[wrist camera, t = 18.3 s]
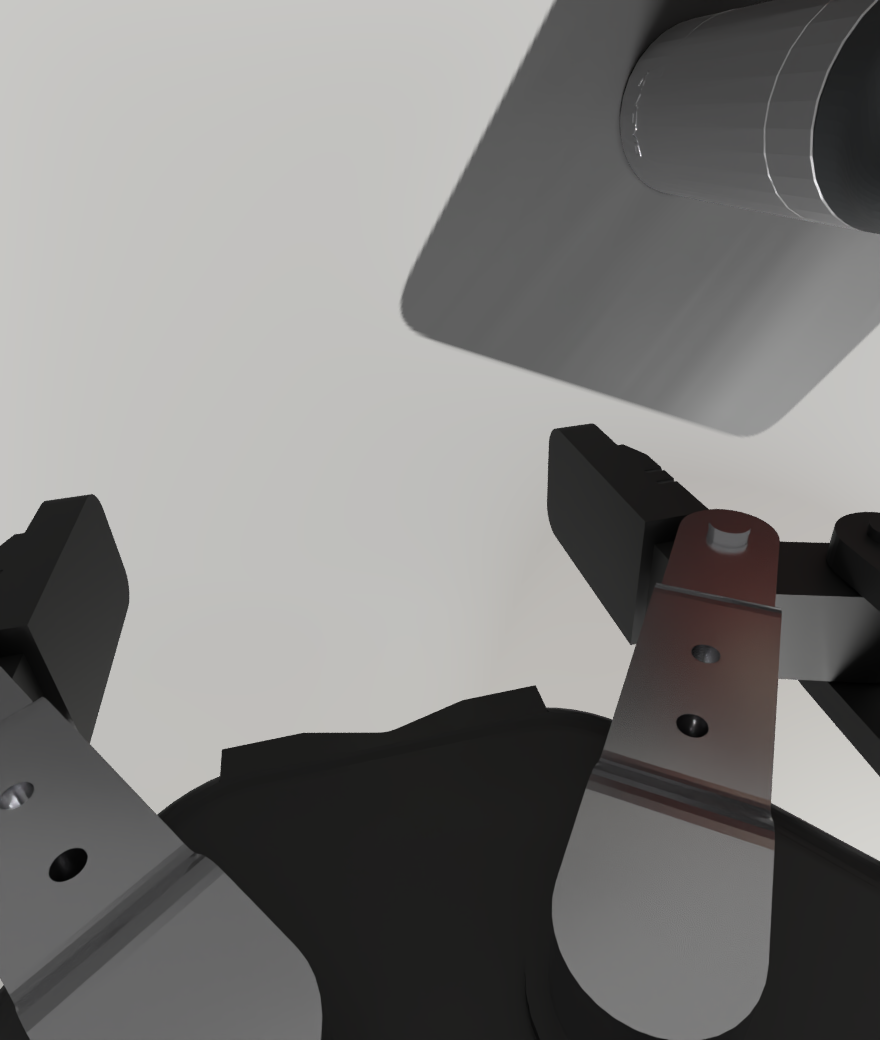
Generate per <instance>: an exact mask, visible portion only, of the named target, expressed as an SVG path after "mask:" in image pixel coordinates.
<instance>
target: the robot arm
mask: <svg viewBox="0 0 880 1040" xmlns="http://www.w3.org/2000/svg"><path fill="white" fill-rule="evenodd" d="M620 135H621V140H622V145H623V150H624V153H625V156H626V158H627V160H628V163H629V165H630V167H631V168H632V170H633V171H634V173H635V174H636V175H637V177H638V178H639V179H640V180H641V181H642V182H644V183H645V184H646V185H647V186H648V187H650V188H652V189H654V190H657V191H659V192H661V193H665V194H670V195H676V196H681V197H686V198H691V199H695V200H699V201H705V202H710V203H715V204H720V205H726V206H731V207H736V208H741V209H747V210H752V211H757V212H762V213H768V214H773V215H778V216H783V217H789V218H794V219H799V220H804V221H810V222H815V223H822V224H828V225H833V226H838V227H843V228H849V229H854V230H859V231H864V232H871V233H877V234H880V0H773V1H768V2H764V3H760V4H755V5H751V6H747V7H742V8H738V9H732V10H728V11H724V12H720V13H715V14H711V15H707V16H702V17H698V18H694V19H691V20H688V21H684V22H681V23H678V24H677V25H675V26H673V27H672V28H670V29H668V30H667V31H665V32H664V33H662V34H661V35H660V36H659V37H658V38H657V39H656V40H655V41H654V42H653V43H652V44H650V46H649V47H648V48H647V50H646V51H645V52H644V54H643V55H642V56H641V58H640V59H639V60H638V62H637V64H636V66H635V68H634V70H633V72H632V74H631V76H630V78H629V80H628V83H627V86H626V89H625V93H624V96H623V101H622V107H621V113H620ZM548 460H549V461H548V493H547V510H548V517H549V521H550V525H551V528H552V531H553V533H554V535H555V536H556V538H557V539H558V541H559V542H560V544H561V545H562V546H563V548H564V549H565V551H566V552H567V553H568V555H569V557H570V558H571V559H572V561H573V562H574V564H575V565H576V567H577V568H578V570H579V571H580V572H581V574H582V575H583V577H584V578H585V580H586V581H587V583H588V584H589V585H590V587H591V588H592V590H593V591H594V593H595V594H596V595H597V597H598V598H599V600H600V601H601V603H602V604H603V606H604V607H605V609H606V610H607V611H608V613H609V614H610V616H611V617H612V619H613V620H614V622H615V623H616V624H617V626H618V627H619V629H620V630H621V632H622V633H623V635H624V636H625V637H626V639H627V640H628V642H629V643H630V645H632V644H636V647H635V650H634V654H633V657H632V660H631V663H630V666H629V669H628V672H627V676H626V679H625V682H624V685H623V689H622V691H621V695H620V698H619V701H618V704H617V708H616V710H615V714H614V717H613V720H611V719H609V718H606V717H603V716H599V715H596V714H592V713H588V712H583V711H578V710H572V709H563V708H546V707H545V704H544V702H543V701H542V698H541V696H540V694H539V692H538V690H537V688H536V686H530V687H525V688H520V689H516V690H510V691H506V692H501V693H496V694H491V695H486V696H482V697H477V698H472V699H467V700H462V701H460V702H458V703H455V704H453V705H451V706H448V707H446V708H444V709H441V710H439V711H437V712H434V713H432V714H430V715H428V716H425V717H423V718H421V719H418V720H416V721H414V722H411V723H409V724H407V725H405V726H402V727H400V728H398V729H395V730H392V731H389V732H383V733H301V734H296V735H291V736H286V737H281V738H276V739H271V740H266V741H262V742H257V743H252V744H247V745H242V746H237V747H232V748H228V749H223V750H222V758H221V772H220V776H219V777H217V778H215V779H213V780H210V781H208V782H206V783H204V784H203V785H201V786H199V787H197V788H196V789H193V790H192V791H190V792H188V793H187V794H185V795H184V796H182V797H181V798H179V799H177V800H176V801H174V802H173V803H172V804H170V805H169V806H168V807H166V808H165V809H164V810H163V811H161V812H160V813H159V814H158V815H156V813H155V812H154V811H153V810H152V809H151V808H150V807H149V806H148V805H147V804H146V803H145V802H144V801H143V800H142V799H141V798H140V797H139V795H138V794H137V793H136V792H135V791H134V790H133V789H132V788H131V787H130V786H129V785H128V784H127V783H126V782H125V781H124V780H123V779H122V778H121V777H120V776H119V774H118V773H117V772H116V771H114V769H113V768H112V767H111V766H110V765H109V764H108V763H107V762H106V761H105V760H104V759H103V758H102V757H101V755H99V753H97V751H96V750H95V749H94V748H93V747H92V746H91V745H90V741H91V737H92V734H93V730H94V726H95V723H96V719H97V716H98V712H99V709H100V705H101V702H102V698H103V694H104V691H105V687H106V684H107V680H108V677H109V673H110V670H111V666H112V662H113V659H114V656H115V652H116V648H117V645H118V641H119V638H120V634H121V631H122V627H123V623H124V620H125V617H126V613H127V609H128V605H129V586H128V579H127V575H126V571H125V568H124V566H123V563H122V560H121V557H120V554H119V552H118V549H117V546H116V543H115V541H114V538H113V535H112V532H111V529H110V527H109V524H108V521H107V519H106V516H105V513H104V510H103V508H102V505H101V503H100V501H99V500H98V499H97V497H96V496H95V495H93V494H91V495H84V496H77V497H70V498H63V499H56V500H49V501H44V502H43V503H42V504H41V506H40V508H39V509H38V511H37V513H36V514H35V516H34V518H33V520H32V522H31V523H30V525H29V526H28V528H27V530H26V532H25V533H22V534H16V535H13V536H12V537H11V538H10V539H8V540H7V541H6V542H5V543H3V544H2V545H1V546H0V979H1V981H2V982H3V984H4V985H3V987H2V988H1V989H0V1040H880V861H878V860H876V859H874V858H873V857H871V856H869V855H867V854H865V853H863V852H862V851H860V850H858V849H856V848H854V847H852V846H850V845H848V844H847V843H844V842H843V841H841V840H839V839H837V838H835V837H833V836H832V835H830V834H828V833H826V832H824V831H822V830H821V829H819V828H817V827H815V826H813V825H811V824H809V823H807V822H806V821H804V820H802V819H800V818H798V817H796V816H794V815H793V814H791V813H789V812H787V811H785V810H783V809H781V808H779V807H778V806H776V805H774V804H772V803H771V791H772V774H773V757H774V740H775V723H776V722H775V721H776V705H777V688H778V679H795V680H798V681H799V682H800V683H801V685H802V686H803V687H804V688H805V689H806V691H807V692H808V693H809V694H810V695H811V697H812V698H813V699H814V700H815V701H816V702H817V703H818V705H819V706H820V707H821V708H822V709H823V710H824V711H825V713H826V714H827V715H828V716H829V718H830V719H831V720H832V721H833V722H834V723H835V725H836V726H837V727H838V728H839V729H840V730H841V732H842V733H843V734H844V735H845V736H846V737H847V739H848V740H849V741H850V742H851V743H852V745H853V746H854V747H855V748H856V749H857V750H858V752H859V753H860V754H861V755H862V756H863V757H864V759H865V760H866V761H867V762H868V763H869V764H870V765H871V767H872V768H873V769H874V770H875V772H876V773H877V774H878V775H879V776H880V513H876V512H860V513H854V514H849V515H846V516H843V517H842V518H840V519H839V520H838V521H837V522H836V524H835V527H834V531H833V534H832V537H831V541H830V543H807V542H780V541H779V536H778V534H777V532H776V531H775V530H774V529H773V528H772V527H771V526H770V525H769V524H767V523H766V522H764V521H763V520H761V519H759V518H757V517H754V516H752V515H749V514H745V513H742V512H737V511H733V510H723V509H712V510H711V509H710V510H709V509H708V508H706V507H705V506H704V505H703V504H702V503H701V502H700V501H698V500H697V499H696V498H695V497H694V496H693V495H692V494H691V493H690V492H688V491H687V490H686V489H685V488H684V487H683V486H681V485H680V484H679V483H678V482H677V481H676V482H674V478H673V477H671V476H670V475H669V474H668V473H667V472H666V471H664V470H663V471H662V469H661V467H660V466H659V465H658V464H657V463H655V462H654V461H653V460H652V459H651V458H650V457H649V456H648V455H646V454H644V453H642V452H639V451H637V450H635V449H633V448H630V447H628V446H625V445H617V444H615V443H614V442H613V441H612V440H611V439H610V438H609V437H608V436H607V435H606V434H604V433H603V431H601V430H600V429H599V428H598V427H597V426H596V425H595V424H585V425H578V426H571V427H564V428H557V429H554V430H553V431H552V432H551V435H550V439H549V459H548Z"/></svg>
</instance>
